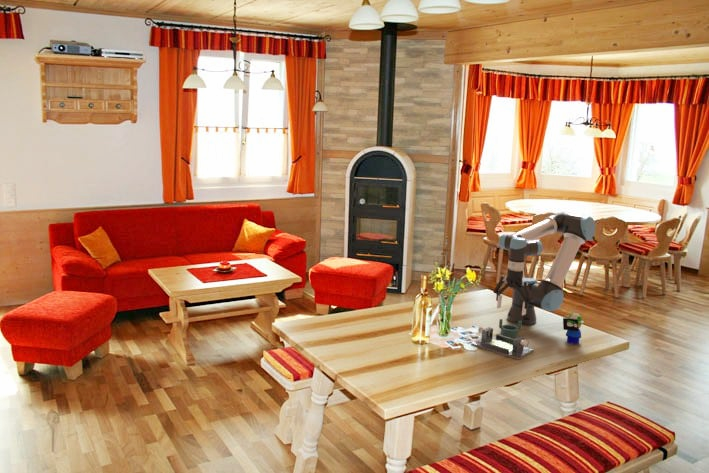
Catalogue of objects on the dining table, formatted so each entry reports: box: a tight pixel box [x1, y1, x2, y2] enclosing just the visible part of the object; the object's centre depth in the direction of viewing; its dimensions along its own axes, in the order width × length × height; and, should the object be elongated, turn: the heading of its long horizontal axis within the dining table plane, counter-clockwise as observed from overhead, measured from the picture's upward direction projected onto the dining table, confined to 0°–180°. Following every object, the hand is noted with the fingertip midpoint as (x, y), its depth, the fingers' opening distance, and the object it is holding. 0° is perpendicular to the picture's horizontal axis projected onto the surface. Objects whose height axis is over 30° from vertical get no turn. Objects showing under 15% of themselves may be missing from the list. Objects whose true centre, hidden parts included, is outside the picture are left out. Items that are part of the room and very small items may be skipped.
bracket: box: [498, 318, 523, 339], centre depth 307 cm, size 9×9×9 cm
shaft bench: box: [473, 326, 535, 361], centre depth 293 cm, size 15×25×7 cm, turn 47°
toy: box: [562, 312, 585, 345], centre depth 303 cm, size 9×9×15 cm
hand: (511, 311), depth 305 cm, fingers open, 13 cm apart
